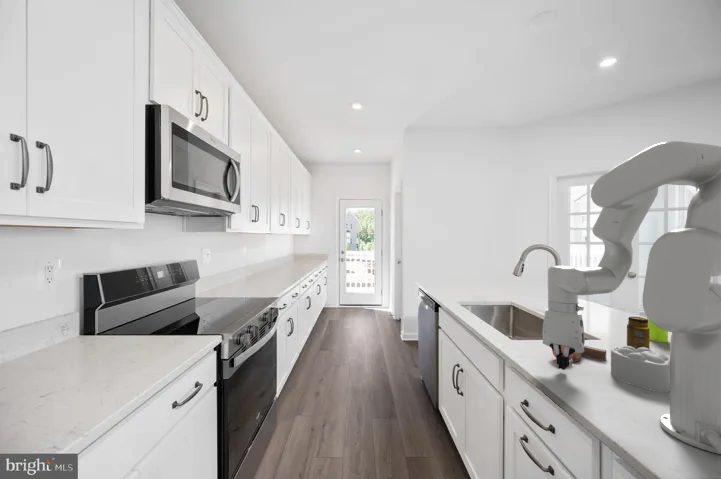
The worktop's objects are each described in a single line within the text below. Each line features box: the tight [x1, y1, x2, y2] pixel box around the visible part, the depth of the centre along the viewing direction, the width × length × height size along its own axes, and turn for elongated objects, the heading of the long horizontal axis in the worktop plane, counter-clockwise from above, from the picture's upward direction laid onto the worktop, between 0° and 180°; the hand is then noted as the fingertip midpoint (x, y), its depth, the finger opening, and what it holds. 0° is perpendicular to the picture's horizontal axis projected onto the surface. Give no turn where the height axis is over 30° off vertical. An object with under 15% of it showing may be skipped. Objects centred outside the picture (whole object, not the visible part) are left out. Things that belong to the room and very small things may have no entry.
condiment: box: [626, 316, 651, 349], centre depth 110 cm, size 7×8×12 cm
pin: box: [571, 344, 585, 362], centre depth 105 cm, size 2×2×8 cm
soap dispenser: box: [646, 316, 669, 343], centre depth 123 cm, size 6×7×20 cm
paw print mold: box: [610, 345, 670, 393], centre depth 89 cm, size 10×13×9 cm
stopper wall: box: [581, 345, 607, 361], centre depth 108 cm, size 2×12×3 cm, turn 41°
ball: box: [551, 346, 574, 361], centre depth 103 cm, size 6×6×6 cm
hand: (562, 367), depth 94 cm, fingers closed
